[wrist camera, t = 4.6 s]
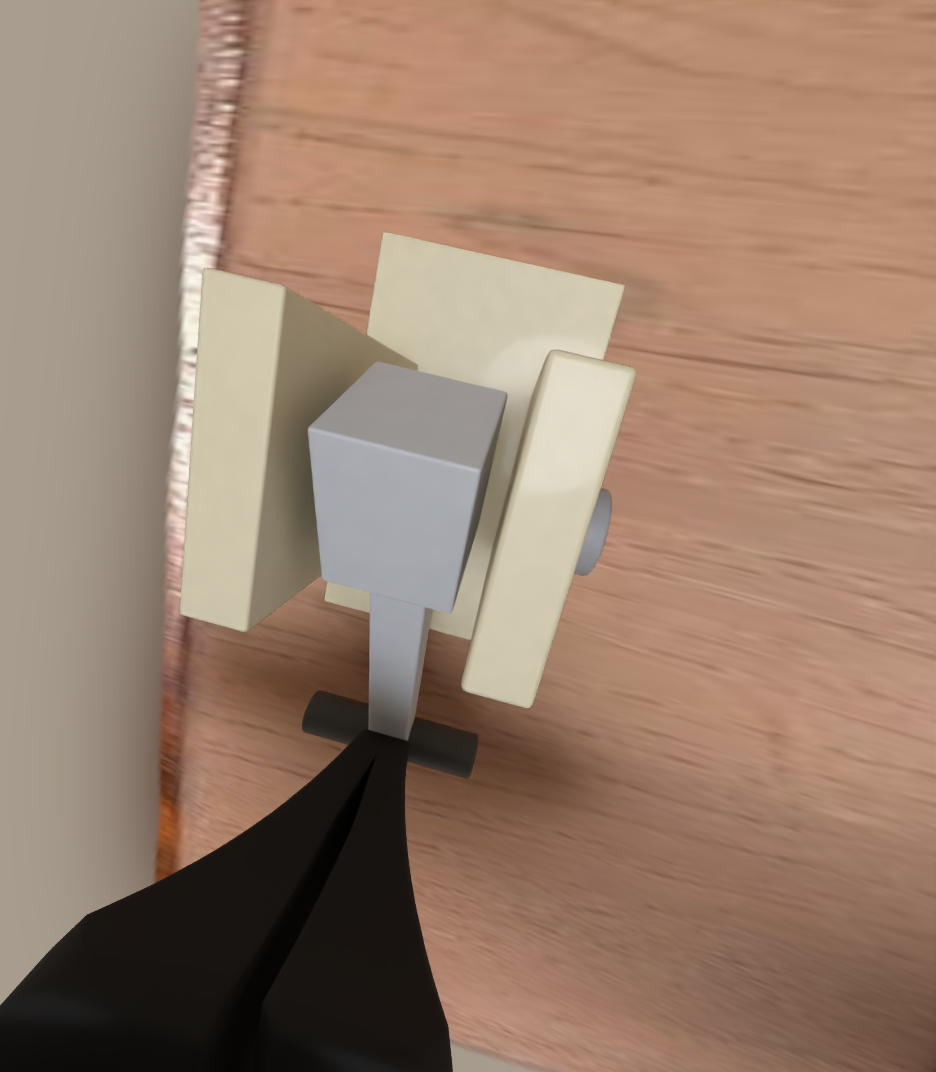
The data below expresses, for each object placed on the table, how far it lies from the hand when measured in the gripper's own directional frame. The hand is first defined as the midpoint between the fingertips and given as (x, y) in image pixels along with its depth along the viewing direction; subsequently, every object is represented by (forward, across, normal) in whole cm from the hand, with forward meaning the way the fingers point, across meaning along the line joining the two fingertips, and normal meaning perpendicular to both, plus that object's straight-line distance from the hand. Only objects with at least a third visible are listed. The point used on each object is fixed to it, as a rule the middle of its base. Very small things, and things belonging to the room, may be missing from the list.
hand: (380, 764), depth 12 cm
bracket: (+3, 0, -8) cm, 9 cm away
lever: (0, 0, -5) cm, 5 cm away
